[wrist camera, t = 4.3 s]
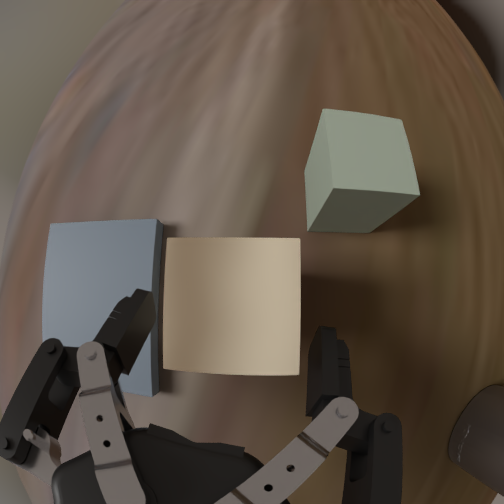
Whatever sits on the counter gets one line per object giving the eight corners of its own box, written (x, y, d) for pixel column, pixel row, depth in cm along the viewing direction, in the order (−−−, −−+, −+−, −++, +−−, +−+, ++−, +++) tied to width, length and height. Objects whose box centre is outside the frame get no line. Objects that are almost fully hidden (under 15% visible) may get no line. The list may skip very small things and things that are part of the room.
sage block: (362, 175, 21) (401, 119, 13) (369, 233, 20) (419, 195, 12) (304, 171, 21) (322, 108, 14) (307, 231, 21) (333, 188, 13)
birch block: (281, 271, 20) (300, 238, 10) (280, 341, 19) (299, 374, 9) (211, 270, 20) (167, 237, 10) (210, 339, 19) (163, 368, 9)
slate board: (163, 224, 21) (157, 219, 19) (159, 391, 18) (152, 397, 17) (60, 228, 21) (50, 223, 20) (54, 367, 19) (44, 369, 17)
